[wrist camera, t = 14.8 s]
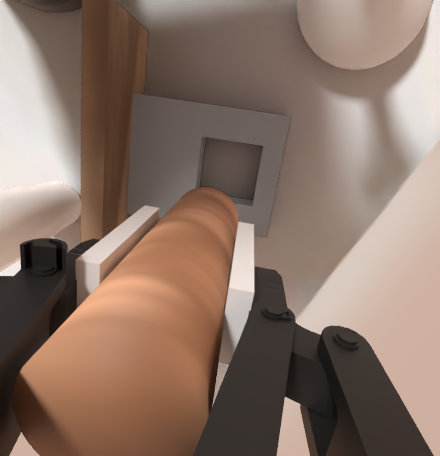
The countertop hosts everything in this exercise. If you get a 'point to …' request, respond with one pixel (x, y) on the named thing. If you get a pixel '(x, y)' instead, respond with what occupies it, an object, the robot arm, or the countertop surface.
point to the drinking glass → (34, 215)
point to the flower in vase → (360, 29)
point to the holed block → (199, 153)
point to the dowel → (138, 345)
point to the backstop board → (108, 112)
